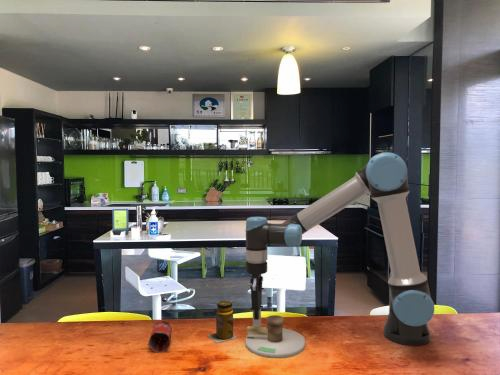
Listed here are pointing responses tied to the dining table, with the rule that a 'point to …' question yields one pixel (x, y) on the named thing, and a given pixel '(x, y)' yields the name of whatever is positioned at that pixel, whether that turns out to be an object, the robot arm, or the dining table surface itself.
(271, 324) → the tuning knob
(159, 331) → the beverage can
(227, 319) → the condiment
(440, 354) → the dining table surface
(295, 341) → the dial plate
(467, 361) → the dining table surface
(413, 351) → the dining table surface
